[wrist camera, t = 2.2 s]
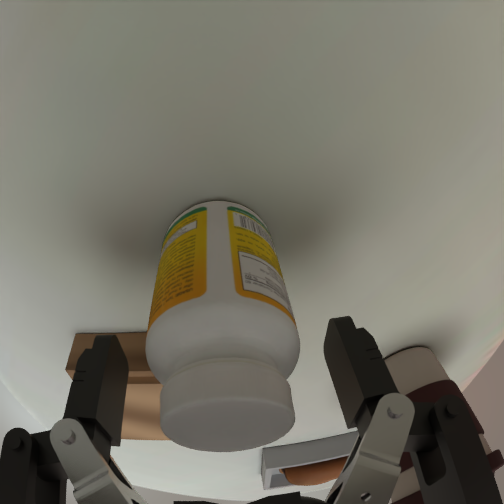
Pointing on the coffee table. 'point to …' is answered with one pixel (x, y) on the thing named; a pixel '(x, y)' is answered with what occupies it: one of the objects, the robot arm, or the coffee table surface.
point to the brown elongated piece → (314, 472)
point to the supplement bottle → (222, 332)
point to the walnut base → (131, 385)
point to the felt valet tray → (302, 457)
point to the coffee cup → (425, 390)
